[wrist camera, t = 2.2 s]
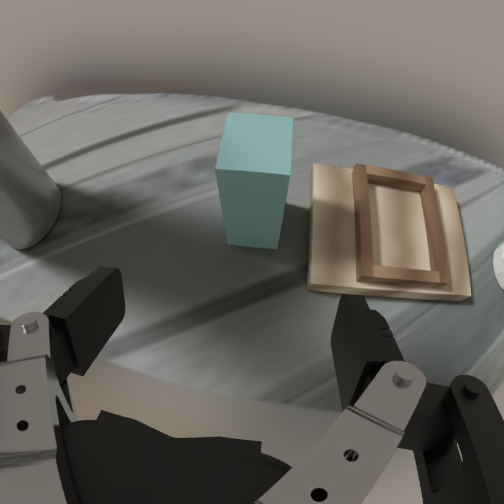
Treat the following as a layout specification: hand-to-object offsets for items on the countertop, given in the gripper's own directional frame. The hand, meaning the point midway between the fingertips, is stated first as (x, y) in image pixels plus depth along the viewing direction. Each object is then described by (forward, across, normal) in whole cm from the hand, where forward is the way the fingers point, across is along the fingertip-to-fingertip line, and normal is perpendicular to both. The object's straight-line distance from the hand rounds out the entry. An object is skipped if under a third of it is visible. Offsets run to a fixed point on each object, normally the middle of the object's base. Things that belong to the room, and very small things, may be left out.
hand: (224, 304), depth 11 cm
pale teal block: (+19, 0, +3) cm, 19 cm away
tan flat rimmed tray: (+19, -13, +3) cm, 23 cm away
